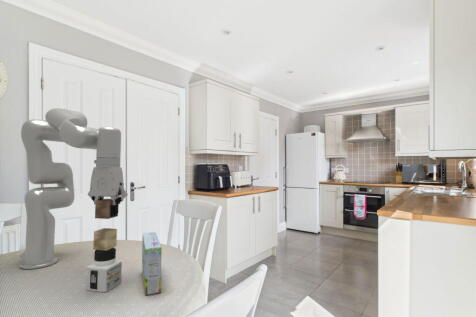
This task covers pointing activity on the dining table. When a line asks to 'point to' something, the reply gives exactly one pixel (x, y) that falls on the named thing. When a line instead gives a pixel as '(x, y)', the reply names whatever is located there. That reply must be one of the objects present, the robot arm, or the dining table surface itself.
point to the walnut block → (103, 208)
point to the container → (104, 271)
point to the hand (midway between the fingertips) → (106, 215)
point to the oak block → (105, 239)
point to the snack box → (151, 263)
